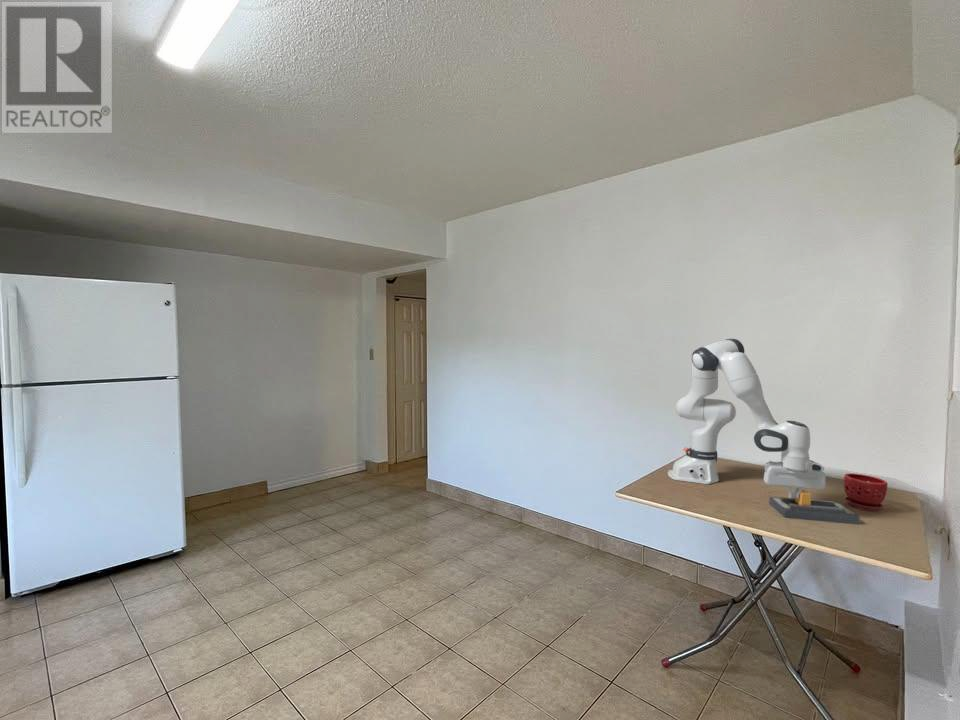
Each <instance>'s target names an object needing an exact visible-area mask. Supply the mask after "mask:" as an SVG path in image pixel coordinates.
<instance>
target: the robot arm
mask: <svg viewBox="0 0 960 720" xmlns="http://www.w3.org/2000/svg"><path fill="white" fill-rule="evenodd" d="M691 361H692V362H691V383H690V388H689V391H688V392H687V393H686V395H684V396H683V397H681V398H679V399H678V400H677V402H676V404H675V412H676V414H677V415H678V416H679V418H683V419H686V420H691V421H698V422H700V421H701V422H705V425H704V426H701V427H698V428H696V429H693V431H692V432H691V434H690V437H691V438H690V447H689V448H688V447H687V446H686V447H683V451H684V452H685V455H684V456H682V457H681V458H678V459H677V460H675V461H674V463H673V466H672V469H668V470H667V475H668V477H669V478H670V479H672V480H675V481H682V482H689V483H695V484H696V483H697V484H703V485H711V484H714V483H718V482H719V481H720V478H719V475H718V468H717V462H718V451H717V444H718V437H719V433H720V431H721V430H722V429H723V428H724V427H725V426H726V425H727V424H729V423H731V422H733V421H734V419H736V418H735V417H736V416H737V409H736V406H735V405H734V404H733V402H731V401H728V400H724V399H719V398H718V399H717V398H715V399H714V398H706V397H707V396H711V395H713V394H714V393H716V392H717V390H718V387H719V370H721V371H722V372H723V374H724V375H725V379H726V381H727V383H728V386H729V388H730V389H731V392H732V393H733V394H734V395H735V397H736V398H737V399H739V400H741V401H742V402H744V403H745V404H746V405H747V406H748V408H749V409H750V411H751V414H752V416H753V418H754V420H755V422H756V425H757V431H756V432H755V434H754V436H753V442H754V445H755V446H756V447H757V448H758V449H760V450H762V451H763V452H767V453H768V452H769V453H771V452H772V453H773V452H774V453H775V452H776V453H777V452H778V453H779V452H780V454H781V455H780V461H771V460H770V461H768V462H765V464H764V474H763V481H764V483H765V484H766V485H768V486H774V487H784V488H785V490H786V491H787V496H788V497H787V498H796V499H798V495H799V494H800V493H801V491H802V490H803V489H811V490H813V489H814V490H821V491H822V490H825V489H826V488H827V487H826V486H827V478H826V474H825V473H824V470H825V467H824V465H823V464H820V463H819V462H816V461H813V460H811V459H810V454H809V450H810V447H811V432H810V429H809V427H808V426H807V424H804V423H802V422H800V421H799V422H798V421H796V420H785V421H784V422H781V423H778V422H777V421H776V420H775V419H774V417H773V416H772V413H771V411H770V408H769V406H768V404H767V403H766V400H765V396H764V392H763V388H762V387H763V386H762V384H761V380H760V377H759V375H758V373H757V370H756V369H755V367H754V365H753V363H752V361H751V360H750V359H749V357H748V356H747V355H746V352H745V348H744V345H743V343H742V341H740V340H739V339H737V338H726V339H724V340H720V341H719V340H718V341H715V342H712V343H709V344H707V345H705V346H701V347H699V348H696V349H695V350H694V351H693V352H692V353H691ZM792 488H795V491H794V492H792V491H791V490H792ZM796 489H797V490H796Z"/></svg>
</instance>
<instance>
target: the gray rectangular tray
mask: <svg viewBox="0 0 960 720" xmlns="http://www.w3.org/2000/svg"><path fill="white" fill-rule="evenodd" d="M768 499H769V505H770V506H771V507H772V508H773V507H774V508H773V509H775V511H777V512H778V513H779V515H781V516H782V517H783V518H785V519H796V520H797V519H798V520H808V521H818V522H819V521H820V522H829V523H841V524H850V525H860V515H859V514H856V513H855V512H853V510H850V509H848V508H847V507H846V506H844V505H842V504H841V503H839V502H838V501H837V502H835V501H833V500H820V499H811V505H800V504H797V503H796V502H795V498H789V497H785V496H781V497H777V496H776V497H775V496H769V498H768Z"/></svg>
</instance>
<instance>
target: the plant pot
mask: <svg viewBox="0 0 960 720" xmlns="http://www.w3.org/2000/svg"><path fill="white" fill-rule="evenodd" d="M843 480H844V481H843V488H844V492H845V495H846V497H844V501H845V503H847V504H848V505H850V506H851V507H854V508H856V509H861V510H867V511H879V510H882V509H883V504H882V503H883V502H884V500H885V498H886V495H887V492H888V484H889V483H888V482H887V481H886V480H884V479H881V478H879V477H875V476H870V475H866V474H860V473H859V474H858V473H845V474H844V478H843Z"/></svg>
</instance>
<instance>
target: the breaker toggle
mask: <svg viewBox="0 0 960 720" xmlns="http://www.w3.org/2000/svg"><path fill="white" fill-rule="evenodd" d="M796 490H797V489H796V488H795V491H796ZM811 500H812V494H811V493H809V492H808V491H806V490H805V489H802V491H801V493H800V494H799V495H798V499H796V498H795V502H796V503H797V504H800V505H811Z"/></svg>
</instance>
